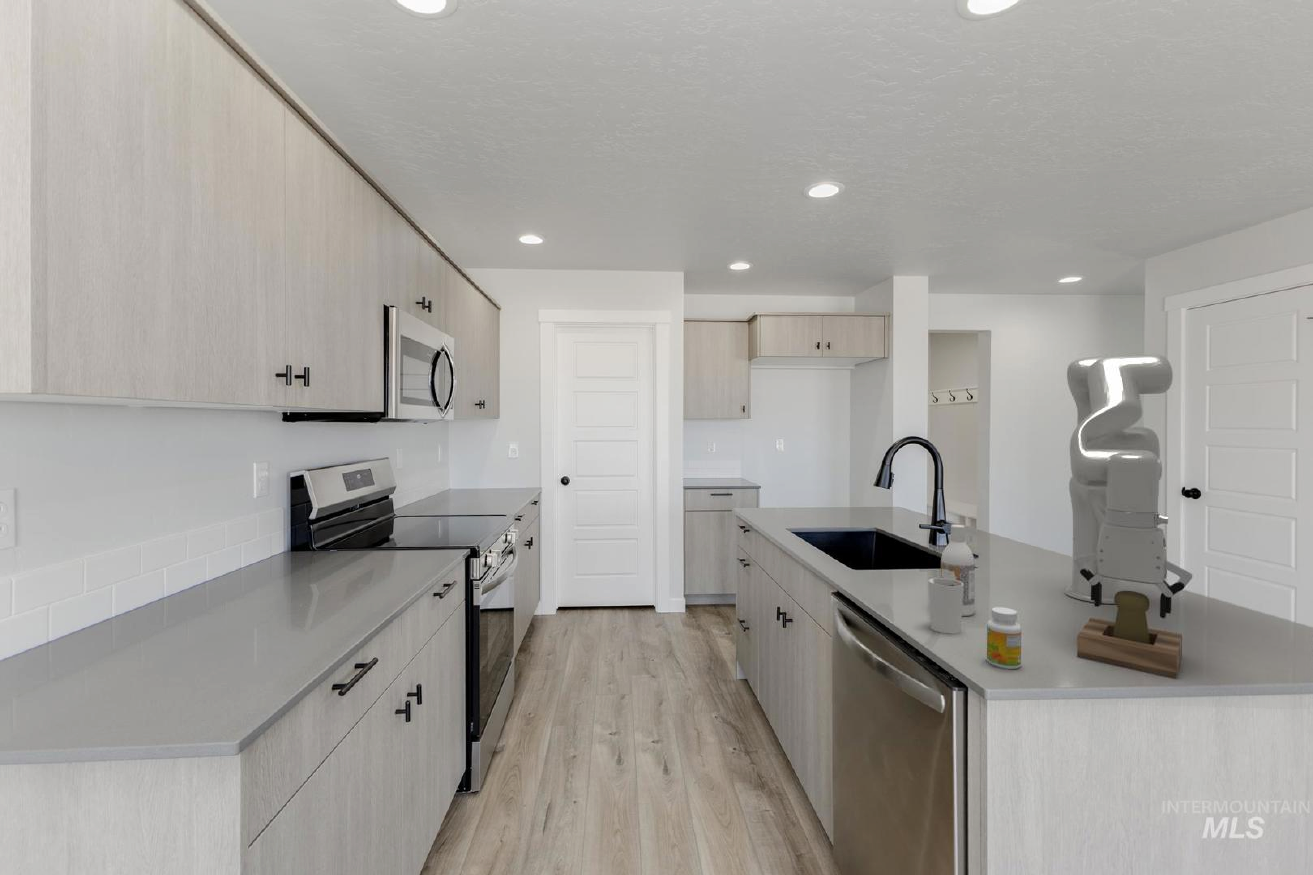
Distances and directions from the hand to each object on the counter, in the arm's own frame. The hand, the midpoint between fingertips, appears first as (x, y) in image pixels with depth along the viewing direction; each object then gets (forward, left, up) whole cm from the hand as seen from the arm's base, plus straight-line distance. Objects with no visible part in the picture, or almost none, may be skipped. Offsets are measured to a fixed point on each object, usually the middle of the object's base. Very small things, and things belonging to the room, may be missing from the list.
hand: (1129, 610), depth 112 cm
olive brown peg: (0, 0, -8) cm, 8 cm away
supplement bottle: (+21, -16, -9) cm, 27 cm away
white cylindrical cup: (+9, -30, -9) cm, 32 cm away
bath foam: (-5, -32, -9) cm, 33 cm away
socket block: (+1, 0, -8) cm, 8 cm away
